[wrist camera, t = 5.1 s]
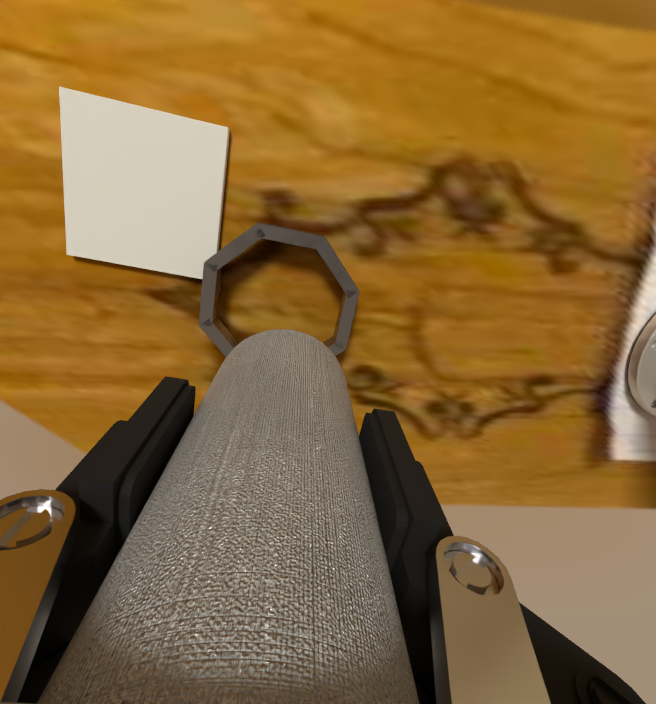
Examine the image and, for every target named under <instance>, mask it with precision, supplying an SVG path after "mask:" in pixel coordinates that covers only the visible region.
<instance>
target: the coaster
mask: <svg viewBox="0 0 656 704" xmlns="http://www.w3.org/2000/svg"><path fill="white" fill-rule="evenodd" d="M59 95H60V117H61V139H62V161H63V183H64V205H65V227H66V249H67V255H72V256H77V257H83V258H88V259H94V260H99V261H105V262H110V263H116V264H121V265H127V266H132V267H138V268H143V269H149V270H154V271H160V272H165V273H171V274H176V275H182V276H187V277H193V278H198V279H203V267H204V262H205V261H206V260H208V259H209V258H210V257H212V256H213V255H214V254H216V253H217V252H218V251H219V240H220V230H221V219H222V209H223V199H224V188H225V178H226V167H227V157H228V146H229V136H230V129H229V128H228V127H224V126H220V125H215V124H211V123H207V122H203V121H199V120H195V119H191V118H187V117H182V116H178V115H174V114H170V113H166V112H162V111H158V110H154V109H150V108H145V107H141V106H137V105H133V104H129V103H125V102H121V101H117V100H112V99H108V98H104V97H100V96H96V95H92V94H88V93H84V92H80V91H75V90H71V89H67V88H63V87H59Z"/></svg>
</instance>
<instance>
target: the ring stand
mask: <svg viewBox="0 0 656 704" xmlns="http://www.w3.org/2000/svg"><path fill="white" fill-rule="evenodd" d="M261 238H263V239H268V240H273V241H278V242H283V243H288V244H293V245H297V246H302V247H307V248H312V249H316V251H317V254H318V256H319V257H321V258H323V260H324V261H325V263H326V264H327V266H328V267H329V269H330V270H331V272H332V273H333V275H334V276H335V278H336V279H337V281H338V283H339V284H340V286H341V287H342V289H343V295H342V299H341V304H340V309H339V313H338V318H337V322H336V327H335V331H334V336H333V337H331V338H330V339H328V340H327V341H325V342H323V344H324V345H325V346H327V347H328V348H329V349H330V350H331V352H332V353H333V354H334V355H335V356H336V355H338V354H340V353H341V352H343V351H344V350H345V349H346V347H347V343H348V339H349V335H350V330H351V326H352V322H353V318H354V313H355V309H356V305H357V301H358V296H359V290H358V288H357V287H356V285H355V284H354V282H353V280H352V279H351V277H350V276H349V274H348V273H347V271H346V269H345V268H344V266H343V265H342V263H341V261H340V260H339V258H338V257H337V255H336V254H335V252H334V250H333V249H332V247H331V246H330V244H329V243H328V241H327V239H326V238H325V237H324V236H323V235H320V234H315V233H310V232H305V231H301V230H296V229H291V228H286V227H281V226H277V225H272V224H267V223H262V222H259V223H257V224H256V225H254V226H253V227H251V228H250V229H249V230H247V231H246V232H245V233H243V234H242V235H240V236H239V237H238V238H236V239H235V240H234V241H232V242H231V243H229V244H228V245H227V246H225V247H224V248H223V249H221V250H220V251H219V252H217V253H216V254H214V255H213V256H212V257H210V258H209V259H208V260H206V261H205V262H204V267H203V279H202V291H201V303H200V315H199V326H200V327H201V328H202V330H203V331H204V332H205V333H206V334H207V335H208V337H209V338H210V339H211V340H212V341H213V342H214V344H215V345H216V346H217V347H218V348H219V350H220V351H221V352H222V353H223V354H224V355H225V357H226V358H227V356H228V355H229V354H230V352H231V351H232V350H233V349H234V348H235V347H236V346H237V345H238V344H239V343H238V342H237V340H236V339H235V338H234V337H233V336H232V334H231V333H230V332H229V331H228V329H227V328H226V327H225V326H224V325H223V323H222V322H221V321H220V320H219V319H218V317H217V308H218V298H219V293H220V292H221V291H222V288H223V287H222V284H221V283H220V278H221V267H222V266H224V265H225V264H226V263H228V262H229V261H231V260H232V259H233V258H235V257H236V256H238V255H239V254H240V253H242V252H243V251H245V250H246V249H247V248H249V247H250V246H251V245H253V244H254V243H256V242H257V241H258V240H260V239H261Z"/></svg>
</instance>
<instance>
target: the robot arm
mask: <svg viewBox="0 0 656 704" xmlns="http://www.w3.org/2000/svg"><path fill="white" fill-rule="evenodd" d="M628 383H629V387H630V391H631V394H632V396H633V397H634V399H635V401H636V403H637V404H638V405H639V406H640V407H641V408H642V409H643V410H645V411H646V412H648V413H650V414H651V415H653V416H655V417H656V314H655V315H654V316H653V318H652V319H651V320H650V322H649V323H648V324H647V325H646V327H645V328H644V330H643V331H642V333H641V335H640V337H639V338H638V340H637V342H636V344H635V347H634V349H633V352H632V355H631V358H630V364H629V369H628ZM194 402H195V386H189V381H188V380H185V379H179V378H172V377H165V378H164V379H163V380H162V381H161V382H160V383H159V385H158V386H157V387H156V388H155V389H154V391H153V392H152V393H151V394H150V395H149V396H148V398H147V399H146V400H145V401H144V402H143V404H142V405H141V406H140V407H139V408H138V410H137V411H136V412H135V413H134V414H133V416H132V417H131V418H130V419H129V420H128V421H123V420H120V421H117V422H116V423H115V424H114V425H113V426H112V427H111V428H110V429H109V430H108V431H107V432H106V434H105V435H104V436H103V437H102V438H101V439H100V440H99V441H98V443H97V444H96V445H95V446H94V447H93V448H92V449H91V450H90V451H89V453H88V454H87V455H86V456H85V457H84V458H83V459H82V460H81V462H80V463H79V464H78V465H77V466H76V467H75V468H74V470H73V471H72V472H71V473H70V474H69V475H68V476H67V477H66V478H65V480H64V481H63V482H62V483H61V484H60V485H59V486H58V487H57V488H56V490H45V489H39V490H31V491H24V492H21V493H17V494H14V495H11V496H7V497H5V498H3V499H1V500H0V704H37V702H38V700H39V699H40V697H41V695H42V693H43V691H44V689H45V688H46V686H47V684H48V682H49V680H50V678H51V677H52V675H53V673H54V671H55V669H56V667H57V666H58V664H59V662H60V660H61V658H62V656H63V655H64V653H65V651H66V649H67V647H68V645H69V644H70V642H71V640H72V638H73V636H74V634H75V633H76V631H77V629H78V627H79V625H80V623H81V622H82V620H83V618H84V616H85V614H86V612H87V611H88V609H89V607H90V605H91V603H92V601H93V600H94V598H95V596H96V594H97V592H98V590H99V589H100V587H101V585H102V583H103V581H104V579H105V578H106V576H107V574H108V572H109V570H110V568H111V567H112V565H113V563H114V561H115V559H116V557H117V556H118V554H119V552H120V550H121V548H122V546H123V545H124V543H125V541H126V539H127V537H128V535H129V534H130V532H131V530H132V528H133V526H134V524H135V523H136V521H137V519H138V517H139V515H140V513H141V512H142V510H143V508H144V506H145V504H146V502H147V501H148V499H149V497H150V495H151V493H152V491H153V490H154V488H155V486H156V484H157V482H158V480H159V479H160V477H161V475H162V473H163V471H164V469H165V468H166V466H167V464H168V462H169V460H170V458H171V457H172V455H173V453H174V451H175V449H176V447H177V446H178V444H179V442H180V440H181V438H182V436H183V435H184V433H185V431H186V429H187V427H188V425H189V424H190V422H191V420H192V418H193V414H194ZM359 440H360V445H361V449H362V454H363V458H364V462H365V467H366V471H367V476H368V480H369V484H370V489H371V493H372V498H373V502H374V506H375V511H376V515H377V520H378V524H379V528H380V533H381V537H382V542H383V546H384V550H385V555H386V559H387V564H388V568H389V572H390V577H391V581H392V586H393V590H394V594H395V599H396V603H397V608H398V612H399V616H400V621H401V625H402V630H403V634H404V638H405V643H406V647H407V652H408V656H409V660H410V665H411V669H412V674H413V678H414V682H415V687H416V691H417V696H418V700H419V704H646V703H645V702H644V701H643V700H642V699H641V698H640V697H639V696H638V695H637V693H636V692H635V691H633V689H632V688H631V687H630V686H629V685H628V684H626V683H625V682H624V681H623V680H622V679H621V678H620V677H618V676H617V675H616V674H615V673H613V672H612V671H611V670H609V669H608V668H607V667H605V666H604V665H603V664H601V663H600V662H599V661H597V660H596V659H594V658H593V657H592V656H590V655H589V654H588V653H586V652H585V651H584V650H582V649H581V648H580V647H578V646H577V645H576V644H574V643H573V642H572V641H570V640H569V639H568V638H566V637H565V636H564V635H562V634H561V633H560V632H558V631H557V630H555V629H554V628H553V627H552V626H550V625H549V624H548V623H546V622H545V621H544V620H542V619H541V618H539V617H538V616H537V615H535V614H534V613H533V612H531V611H530V610H529V609H527V608H526V607H525V606H523V605H522V604H520V603H519V601H518V598H517V595H516V592H515V589H514V586H513V582H512V580H511V577H510V575H509V573H508V571H507V569H506V567H505V566H504V564H503V563H502V562H501V561H500V559H499V558H498V557H497V556H496V555H495V554H494V553H492V552H491V551H490V550H489V549H488V548H486V547H485V546H483V545H482V544H480V543H479V542H476V541H474V540H472V539H469V538H467V537H461V536H454V535H453V533H452V531H451V528H450V526H449V524H448V522H447V519H446V517H445V515H444V513H443V511H442V508H441V506H440V504H439V502H438V499H437V497H436V495H435V493H434V491H433V488H432V486H431V484H430V482H429V479H428V477H427V475H426V473H425V470H424V468H423V466H422V465H421V463H420V462H418V461H415V459H414V456H413V454H412V452H411V449H410V447H409V445H408V442H407V440H406V438H405V435H404V433H403V431H402V428H401V426H400V424H399V421H398V419H397V417H396V414H395V413H394V412H393V411H386V410H380V409H374V410H373V411H372V413H366V414H365V417H364V420H363V424H362V427H361V431H360V435H359Z"/></svg>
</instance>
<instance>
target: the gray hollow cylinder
mask: <svg viewBox="0 0 656 704" xmlns="http://www.w3.org/2000/svg"><path fill="white" fill-rule="evenodd" d="M37 704H419V700H418V696H417V691H416V687H415V682H414V678H413V674H412V669H411V665H410V660H409V656H408V652H407V647H406V643H405V638H404V634H403V630H402V625H401V621H400V616H399V612H398V608H397V603H396V599H395V594H394V590H393V586H392V581H391V577H390V572H389V568H388V564H387V559H386V555H385V550H384V546H383V542H382V537H381V533H380V528H379V524H378V520H377V515H376V511H375V506H374V502H373V498H372V493H371V489H370V484H369V480H368V476H367V471H366V467H365V462H364V458H363V454H362V449H361V445H360V440H359V436H358V432H357V427H356V423H355V418H354V414H353V410H352V405H351V401H350V396H349V392H348V388H347V383H346V379H345V376H344V373H343V371H342V368H341V366H340V363H339V361H338V360H337V358H336V357H335V355H334V354H333V353H332V352H331V350H330V349H329V348H328V347H327V346H325V345H324V344H323V343H322V342H320V341H319V340H317V339H315V338H314V337H312V336H310V335H307V334H305V333H302V332H298V331H294V330H285V329H277V330H268V331H264V332H260V333H257V334H255V335H252V336H250V337H248V338H247V339H245V340H243V341H242V342H241V343H239V344H238V345H237V346H236V347H235V348H234V349H233V350H232V351H231V352H230V354H229V355H228V356H227V358H226V359H225V360H224V362H223V363H222V365H221V367H220V369H219V370H218V372H217V374H216V376H215V378H214V380H213V381H212V383H211V385H210V387H209V389H208V391H207V392H206V394H205V396H204V398H203V400H202V402H201V403H200V405H199V407H198V409H197V411H196V413H195V414H194V416H193V418H192V420H191V422H190V424H189V425H188V427H187V429H186V431H185V433H184V435H183V436H182V438H181V440H180V442H179V444H178V446H177V447H176V449H175V451H174V453H173V455H172V457H171V458H170V460H169V462H168V464H167V466H166V468H165V469H164V471H163V473H162V475H161V477H160V479H159V480H158V482H157V484H156V486H155V488H154V490H153V491H152V493H151V495H150V497H149V499H148V501H147V502H146V504H145V506H144V508H143V510H142V512H141V513H140V515H139V517H138V519H137V521H136V523H135V524H134V526H133V528H132V530H131V532H130V534H129V535H128V537H127V539H126V541H125V543H124V545H123V546H122V548H121V550H120V552H119V554H118V556H117V557H116V559H115V561H114V563H113V565H112V567H111V568H110V570H109V572H108V574H107V576H106V578H105V579H104V581H103V583H102V585H101V587H100V589H99V590H98V592H97V594H96V596H95V598H94V600H93V601H92V603H91V605H90V607H89V609H88V611H87V612H86V614H85V616H84V618H83V620H82V622H81V623H80V625H79V627H78V629H77V631H76V633H75V634H74V636H73V638H72V640H71V642H70V644H69V645H68V647H67V649H66V651H65V653H64V655H63V656H62V658H61V660H60V662H59V664H58V666H57V667H56V669H55V671H54V673H53V675H52V677H51V678H50V680H49V682H48V684H47V686H46V688H45V689H44V691H43V693H42V695H41V697H40V699H39V700H38V702H37Z"/></svg>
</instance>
